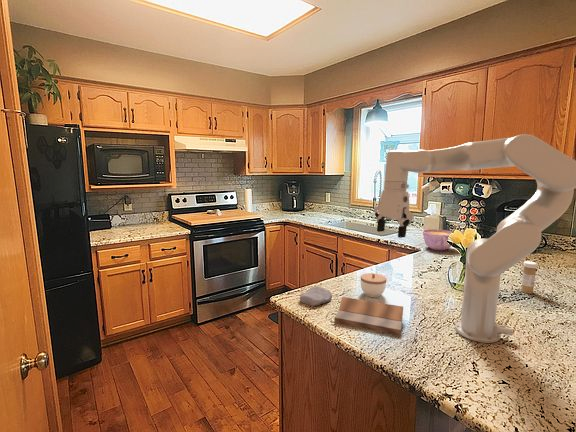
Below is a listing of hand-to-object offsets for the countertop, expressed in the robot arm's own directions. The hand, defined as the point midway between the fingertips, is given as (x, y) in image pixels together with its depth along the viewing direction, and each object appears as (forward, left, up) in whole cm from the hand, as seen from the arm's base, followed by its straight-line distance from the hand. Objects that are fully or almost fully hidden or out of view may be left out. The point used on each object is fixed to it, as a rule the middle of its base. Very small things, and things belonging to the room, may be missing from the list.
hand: (390, 234), depth 111 cm
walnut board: (+5, +11, -30) cm, 33 cm away
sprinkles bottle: (-55, -45, -31) cm, 77 cm away
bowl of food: (-22, -110, -31) cm, 117 cm away
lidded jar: (+7, -16, -31) cm, 35 cm away
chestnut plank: (+5, +4, -29) cm, 29 cm away
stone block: (+28, -1, -31) cm, 42 cm away
